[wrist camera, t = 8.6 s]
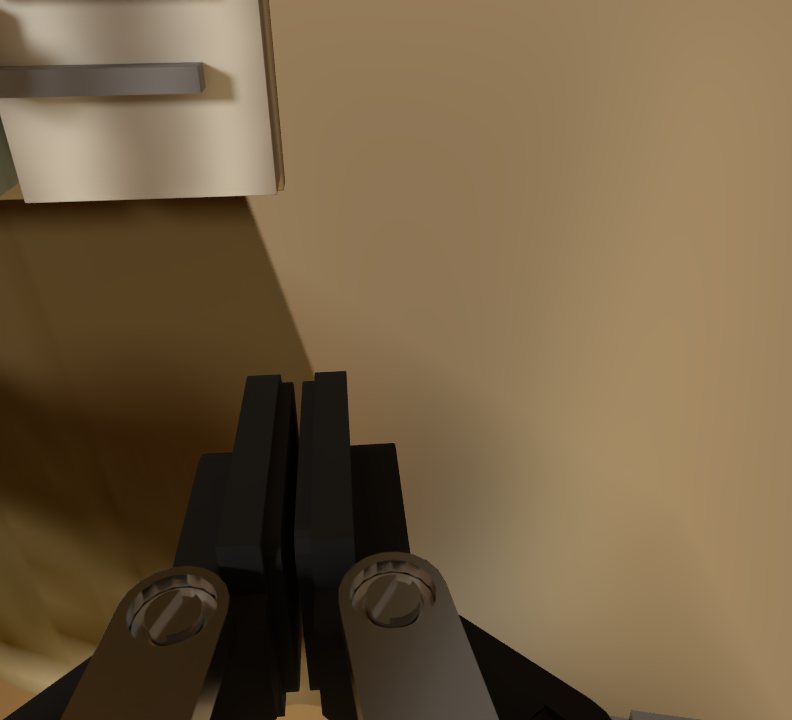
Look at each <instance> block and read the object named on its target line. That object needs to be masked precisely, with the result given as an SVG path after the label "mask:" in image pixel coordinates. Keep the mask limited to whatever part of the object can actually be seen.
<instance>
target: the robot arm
mask: <svg viewBox="0 0 792 720" xmlns="http://www.w3.org/2000/svg"><path fill="white" fill-rule="evenodd" d="M302 623H303V632H304V640H305V649H306V658H307V667H308V676H309V685H310V690H320V695H321V705H322V714H323V716H325V717H326V718H327V719H328V720H698V719H691V718H684V717H676V716H669V715H662V714H655V713H648V712H641V711H633V710H631V712H630V716H629V718H623V717H615V716H609V715H608V714H607V712H606V711H604V710H603V709H602V708H601V707H599V706H598V705H597V704H596V703H595V702H593V701H592V700H591V699H589V698H588V697H587V696H585V695H583V694H582V693H580V692H579V691H577V690H575V689H574V688H572V687H571V686H569V685H568V684H566V683H565V682H563V681H562V680H560V679H558V678H557V677H555V676H554V675H552V674H551V673H549V672H548V671H546V670H544V669H543V668H541V667H539V666H538V665H537V664H535V663H534V662H531V661H530V660H529V659H527V658H526V657H524V656H523V655H521V654H519V653H518V652H516V651H514V650H513V649H511V648H510V647H508V646H507V645H505V644H504V643H502V642H501V641H499V640H498V639H496V638H495V637H493V636H491V635H490V634H488V633H487V632H485V631H484V630H482V629H481V628H479V627H477V626H476V625H474V624H473V623H471V622H469V621H468V620H466V619H465V618H463V617H462V616H460V615H459V614H458V612H457V610H456V607H455V605H454V602H453V599H452V597H451V594H450V592H449V589H448V586H447V584H446V582H445V580H444V578H443V577H442V575H441V573H440V572H439V570H438V569H437V568H435V567H434V566H433V565H432V564H431V563H430V562H428V561H427V560H425V559H422V558H420V557H418V556H416V555H414V554H410V548H409V541H408V534H407V526H406V519H405V512H404V505H403V498H402V490H401V483H400V475H399V468H398V461H397V454H396V447H395V444H394V443H387V444H370V445H354V446H350V433H349V416H348V395H347V376H346V371H338V372H320V373H315V381H305V382H303V384H302V401H301V419H300V436H299V433H298V423H297V412H296V402H295V392H294V384H293V382H286V383H282V380H281V376H280V374H279V375H260V376H248V377H247V380H246V385H245V391H244V396H243V401H242V407H241V412H240V417H239V423H238V428H237V433H236V438H235V444H234V449H233V453H216V454H203V455H202V456H201V458H200V461H199V464H198V468H197V472H196V476H195V480H194V484H193V488H192V492H191V496H190V500H189V504H188V508H187V512H186V516H185V520H184V524H183V528H182V532H181V536H180V540H179V544H178V548H177V552H176V556H175V560H174V564H173V567H172V568H169V569H165V570H162V571H159V572H156V573H154V574H152V575H150V576H148V577H147V578H145V579H143V580H141V581H140V582H139V583H137V584H136V585H135V586H134V587H133V588H132V589H130V590H129V591H128V592H127V593H126V595H125V596H124V598H123V599H122V600H121V602H120V603H119V605H118V606H117V608H116V610H115V612H114V614H113V616H112V618H111V620H110V622H109V624H108V626H107V628H106V630H105V632H104V634H103V636H102V638H101V640H100V642H99V644H98V646H97V648H96V650H95V652H94V654H93V655H92V656H91V657H90V658H88V659H87V660H85V661H84V662H83V663H81V664H80V665H78V666H77V667H76V668H74V669H73V670H71V671H70V672H69V673H67V674H66V675H65V676H63V677H62V678H60V679H59V680H58V681H56V682H55V683H53V684H52V685H51V686H49V687H48V688H46V689H45V690H44V691H42V692H41V693H39V694H38V695H37V696H35V697H34V698H33V699H31V700H30V701H28V702H27V703H26V704H24V705H23V706H22V707H20V708H19V709H17V710H16V711H14V712H13V713H12V714H10V715H9V716H8V717H6V718H5V719H3V720H276V719H277V717H281V716H285V704H286V692H298V691H299V688H300V666H301V640H302Z"/></svg>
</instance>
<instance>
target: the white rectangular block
mask: <svg viewBox="0 0 792 720" xmlns="http://www.w3.org/2000/svg"><path fill="white" fill-rule="evenodd" d="M284 185H285V176H284V165H283V154H282V142H281V131H280V120H279V109H278V98H277V87H276V75H275V64H274V54H273V42H272V32H271V19H270V9H269V0H0V200H13V199H24V201H25V203H44V202H73V201H102V200H132V199H161V198H191V197H220V196H249V195H276V194H277V191H280V190H284Z"/></svg>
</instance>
